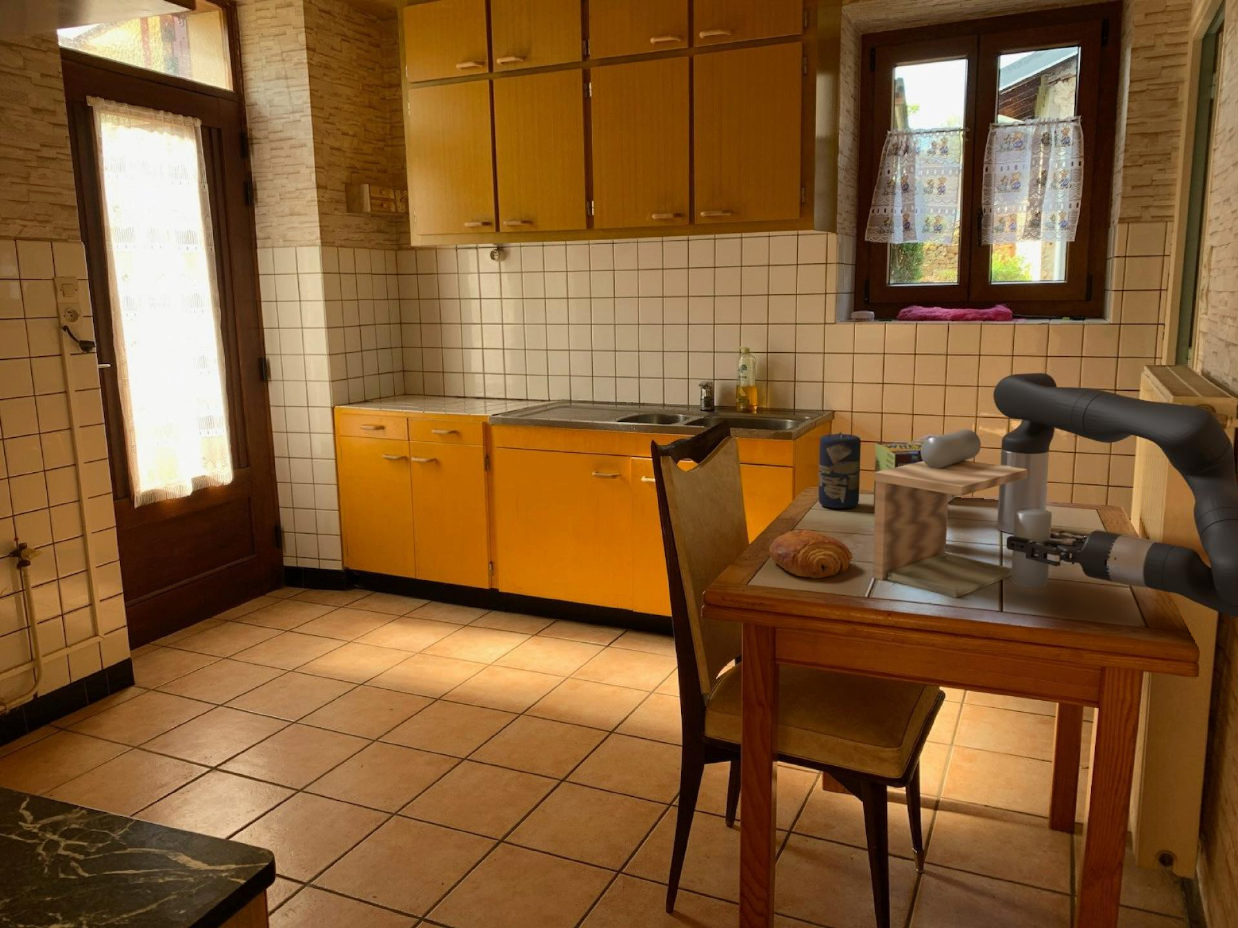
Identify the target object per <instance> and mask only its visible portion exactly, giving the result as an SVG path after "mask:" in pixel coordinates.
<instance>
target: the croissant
mask: <svg viewBox="0 0 1238 928" xmlns="http://www.w3.org/2000/svg"><path fill="white" fill-rule="evenodd" d="M768 552H769V556H770V558H771V559H772V561H774V563H776V564H777V565H778V566H779V567H781V568H782V569H784V570H785V571H786V572H788V573H790V574H793V575H795V576H798V577H803V578H812V579H821V578H826V577H830V576H835V575H836V574H838V573H839V574H841V573H844V572H846V571H847V570H848V568H849V567H850V563H851V561H852V559H853V557H854V556H853V553H852V551H850V549H849V547H848V546H847V545H846V544H845V543H843V542H842V541H841V540H838V539H836V538H834V537H833V536H830V535H827V534H824V533H820V532H817V531H814V530H809V529H800V530H794V531H792V530H791V531H790V530H789V531H788V532H787V533H785V534H783V535H779V536H777V537H776V538H775V539H774V540H773V541H772V543H771V545H770V546H769V551H768Z"/></svg>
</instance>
